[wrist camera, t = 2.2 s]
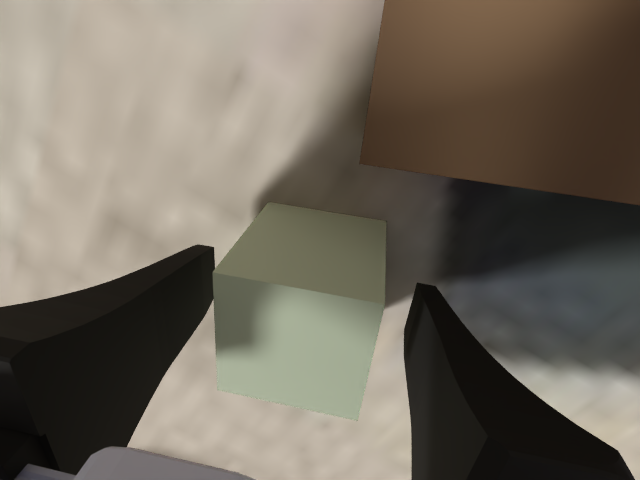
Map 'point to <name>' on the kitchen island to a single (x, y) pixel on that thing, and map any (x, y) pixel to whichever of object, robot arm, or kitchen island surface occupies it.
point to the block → (301, 309)
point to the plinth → (510, 94)
